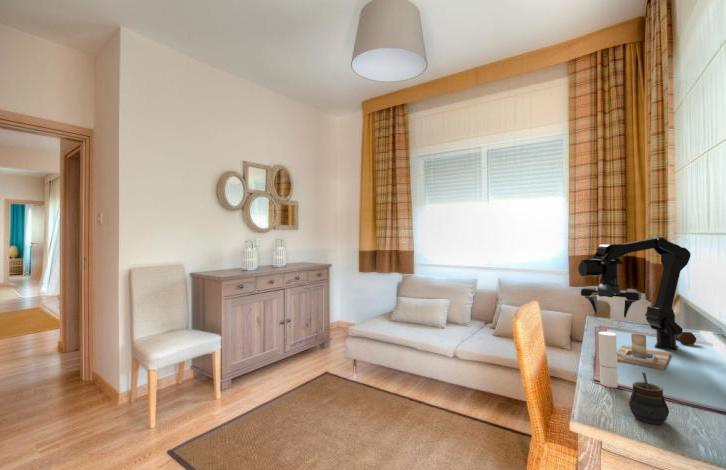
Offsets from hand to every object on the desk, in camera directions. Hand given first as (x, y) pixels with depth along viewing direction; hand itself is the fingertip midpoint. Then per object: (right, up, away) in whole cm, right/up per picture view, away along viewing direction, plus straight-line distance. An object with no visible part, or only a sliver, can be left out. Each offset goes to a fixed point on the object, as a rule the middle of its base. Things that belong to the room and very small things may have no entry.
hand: (610, 315), depth 136 cm
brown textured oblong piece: (+34, -12, +8) cm, 38 cm away
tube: (-25, -13, -34) cm, 44 cm away
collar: (0, -12, -15) cm, 19 cm away
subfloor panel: (+3, -12, -12) cm, 17 cm away
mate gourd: (-29, -13, -53) cm, 62 cm away
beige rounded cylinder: (0, -12, -15) cm, 19 cm away
